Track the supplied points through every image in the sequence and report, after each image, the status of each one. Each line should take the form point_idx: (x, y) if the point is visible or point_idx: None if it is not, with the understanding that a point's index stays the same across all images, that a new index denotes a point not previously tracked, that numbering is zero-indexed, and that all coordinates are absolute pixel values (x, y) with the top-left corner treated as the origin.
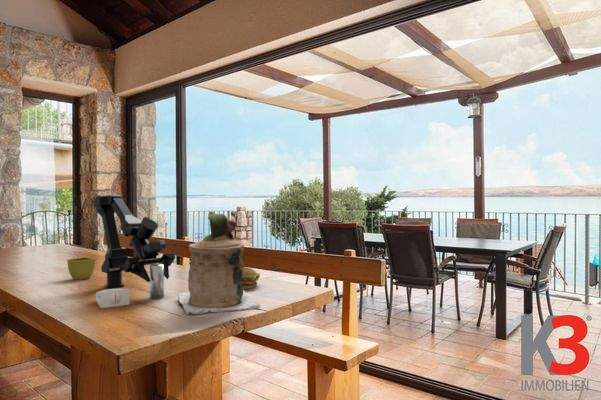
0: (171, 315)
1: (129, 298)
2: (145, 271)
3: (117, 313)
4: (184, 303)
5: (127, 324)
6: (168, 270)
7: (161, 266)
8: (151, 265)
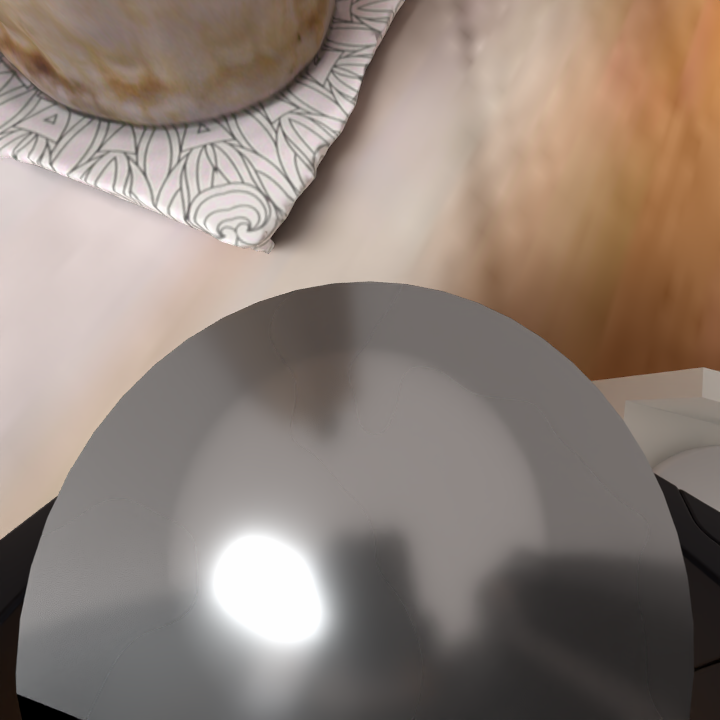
0: (488, 7)
1: (618, 378)
2: (671, 514)
3: (693, 236)
4: (350, 63)
5: (697, 36)
6: (30, 519)
7: (312, 304)
8: (643, 622)
